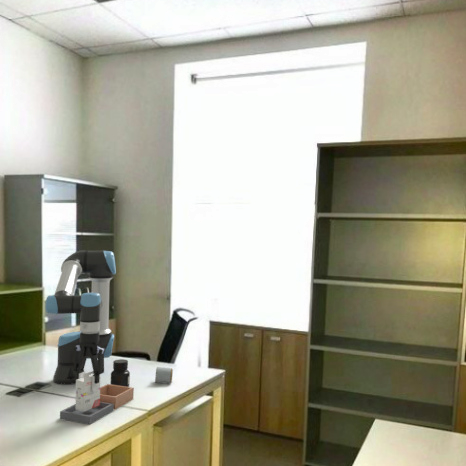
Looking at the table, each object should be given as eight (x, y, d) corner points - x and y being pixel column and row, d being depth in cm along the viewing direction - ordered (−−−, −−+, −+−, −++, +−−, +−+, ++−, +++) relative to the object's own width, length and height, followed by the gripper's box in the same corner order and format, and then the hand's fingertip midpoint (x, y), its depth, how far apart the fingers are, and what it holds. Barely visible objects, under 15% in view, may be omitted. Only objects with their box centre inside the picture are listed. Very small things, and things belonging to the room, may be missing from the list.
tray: (59, 419, 174) (60, 411, 174) (84, 406, 188) (85, 399, 188) (89, 424, 169) (90, 416, 169) (113, 411, 183) (113, 403, 184)
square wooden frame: (87, 405, 190) (88, 393, 190) (107, 395, 202) (107, 383, 203) (115, 409, 185) (115, 397, 185) (133, 399, 198) (133, 387, 198)
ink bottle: (133, 386, 216) (134, 361, 216) (117, 390, 209) (118, 364, 209) (122, 382, 222) (122, 357, 223) (106, 385, 216) (107, 360, 216)
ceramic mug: (171, 384, 219) (172, 369, 220) (154, 385, 218) (155, 369, 219) (172, 378, 230) (173, 363, 230) (156, 378, 229) (157, 363, 229)
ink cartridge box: (91, 403, 184) (92, 366, 184) (100, 405, 181) (101, 369, 182) (74, 409, 177) (75, 371, 177) (83, 412, 174) (84, 373, 174)
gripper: (64, 331, 179) (62, 390, 179) (103, 335, 173) (101, 396, 172) (76, 328, 186) (75, 384, 186) (115, 332, 180) (113, 390, 179)
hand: (88, 390), depth 179 cm, fingers closed on ink cartridge box, 6 cm apart
